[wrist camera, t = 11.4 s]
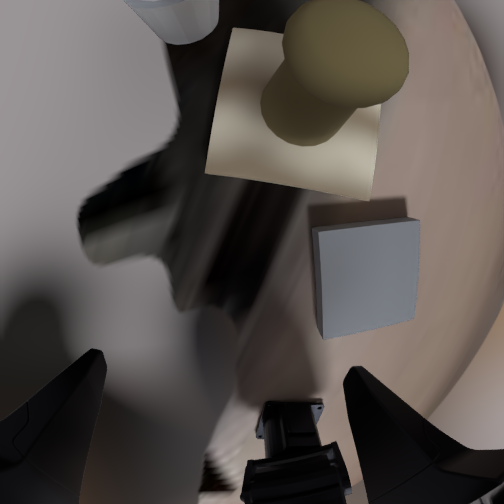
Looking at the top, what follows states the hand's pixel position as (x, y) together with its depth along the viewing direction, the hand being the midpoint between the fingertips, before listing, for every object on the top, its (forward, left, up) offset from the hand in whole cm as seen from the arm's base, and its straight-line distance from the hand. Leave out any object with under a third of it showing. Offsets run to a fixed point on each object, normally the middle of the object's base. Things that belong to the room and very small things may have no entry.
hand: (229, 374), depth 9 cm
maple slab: (+13, -3, -14) cm, 19 cm away
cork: (+12, -3, -12) cm, 17 cm away
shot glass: (+21, +8, -14) cm, 26 cm away
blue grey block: (+1, -11, -14) cm, 18 cm away
